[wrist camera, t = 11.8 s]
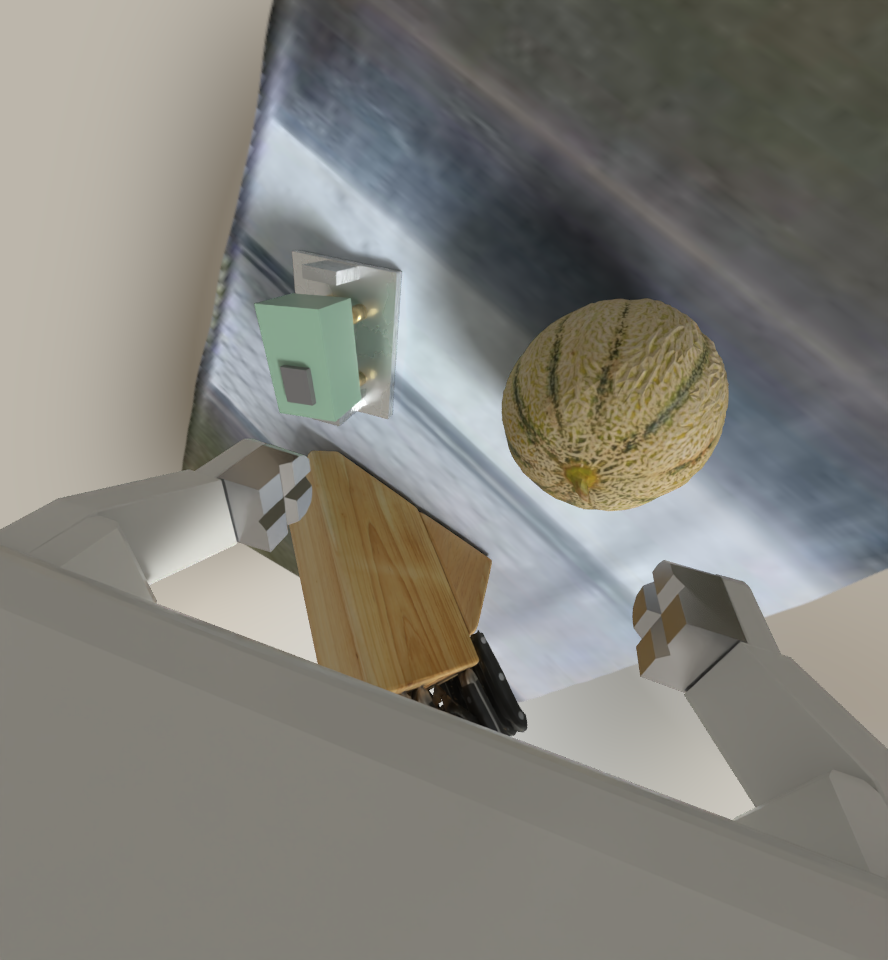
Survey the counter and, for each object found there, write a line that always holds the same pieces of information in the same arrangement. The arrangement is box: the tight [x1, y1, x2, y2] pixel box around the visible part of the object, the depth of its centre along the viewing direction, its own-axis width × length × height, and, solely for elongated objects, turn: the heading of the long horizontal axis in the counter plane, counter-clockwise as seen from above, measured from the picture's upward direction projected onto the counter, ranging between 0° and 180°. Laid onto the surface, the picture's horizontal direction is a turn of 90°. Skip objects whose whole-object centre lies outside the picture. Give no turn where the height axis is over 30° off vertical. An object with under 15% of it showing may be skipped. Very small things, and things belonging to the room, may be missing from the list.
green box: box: [254, 293, 361, 422], centre depth 33 cm, size 9×6×6 cm, turn 179°
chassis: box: [292, 250, 402, 426], centre depth 37 cm, size 14×10×5 cm
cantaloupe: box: [502, 298, 729, 511], centre depth 28 cm, size 15×15×15 cm
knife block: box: [289, 450, 527, 736], centre depth 40 cm, size 11×35×31 cm, turn 56°
